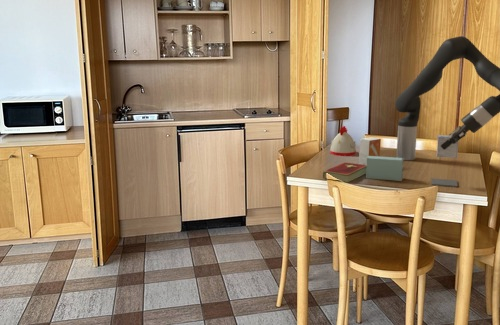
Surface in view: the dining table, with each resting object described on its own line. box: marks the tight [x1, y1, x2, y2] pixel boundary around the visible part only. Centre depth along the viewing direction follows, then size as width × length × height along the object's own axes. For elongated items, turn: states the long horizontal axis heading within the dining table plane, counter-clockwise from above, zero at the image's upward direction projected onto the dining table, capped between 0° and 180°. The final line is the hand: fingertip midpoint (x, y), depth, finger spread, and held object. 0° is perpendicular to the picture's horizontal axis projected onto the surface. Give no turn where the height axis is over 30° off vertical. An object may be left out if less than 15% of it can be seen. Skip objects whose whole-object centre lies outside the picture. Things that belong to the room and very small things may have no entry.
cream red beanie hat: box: [329, 125, 357, 157], centre depth 260 cm, size 14×14×15 cm
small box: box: [358, 136, 382, 165], centre depth 234 cm, size 8×6×13 cm
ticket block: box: [365, 156, 405, 182], centre depth 209 cm, size 5×15×9 cm, turn 69°
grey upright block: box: [436, 134, 459, 159], centre depth 197 cm, size 8×4×9 cm, turn 71°
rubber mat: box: [430, 177, 458, 188], centre depth 201 cm, size 9×10×1 cm
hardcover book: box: [322, 161, 367, 183], centre depth 215 cm, size 12×21×4 cm, turn 143°
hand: (442, 146), depth 198 cm, fingers closed on grey upright block, 4 cm apart
